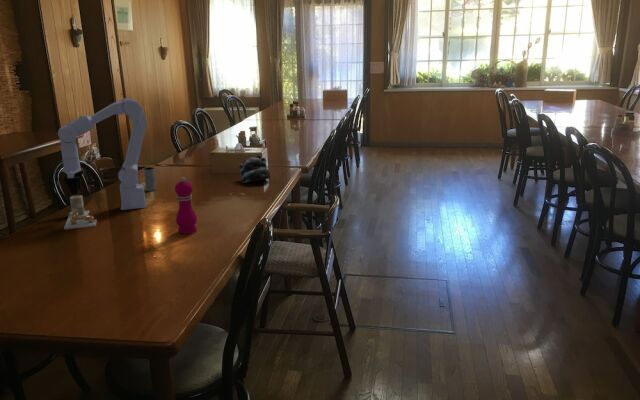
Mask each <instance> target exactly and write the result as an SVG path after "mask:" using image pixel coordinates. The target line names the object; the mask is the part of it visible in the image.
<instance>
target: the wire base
mask: <svg viewBox="0 0 640 400" xmlns="http://www.w3.org/2000/svg"><path fill="white" fill-rule="evenodd" d="M76 222H77V224H75V225H72V224H71V218H68V217H67V220H66V223H65V224H64V227H63V230H72V229H81V228H83V229H84V228H92V227H96V226H97V222H98V219H97V218H95V219H94V222H93V223H89V219H82V220H76Z"/></svg>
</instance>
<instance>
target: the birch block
mask: <svg viewBox="0 0 640 400" xmlns="http://www.w3.org/2000/svg"><path fill="white" fill-rule="evenodd" d="M69 202H70V208H71V212H72V216H73V213H74V212H77V213H78V215H84V213H85V211H86V210H85V204H84V198H83V194H82V195H79V194H77V195H71V196H70V197H69Z"/></svg>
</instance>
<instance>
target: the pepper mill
mask: <svg viewBox="0 0 640 400" xmlns="http://www.w3.org/2000/svg"><path fill="white" fill-rule="evenodd" d="M186 179H187V178H186V177H185V176H184V177H183V176H182V177H180V181H178V182H177V183H176V184H175V187H174V192H175V194H177V196H176V197H177V201H178V205H179V206H178V211H177V214H176V219H175V222H176V224H177V226H178V233H179V234H180V233H182V234H181V235H189V234H188V233H192V234H194V233H193V232H195V231H196V230H198V229H197V225H196V224H197V222H198V217H197V214H196V212H195V210H194V208H193V205H192V199H193V197H192V196H193V195H192V193H193V190H194V188H193V185H192V184H191V182H190V181H186ZM196 232H197V231H196ZM196 232H195V233H196Z"/></svg>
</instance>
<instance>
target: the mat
mask: <svg viewBox="0 0 640 400" xmlns="http://www.w3.org/2000/svg"><path fill="white" fill-rule="evenodd" d="M89 213H90V210H85V213H84V215H78V216H79V217H80V216H89ZM68 218H72V211H70V212H69V214H68V217H67V219H68Z"/></svg>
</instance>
